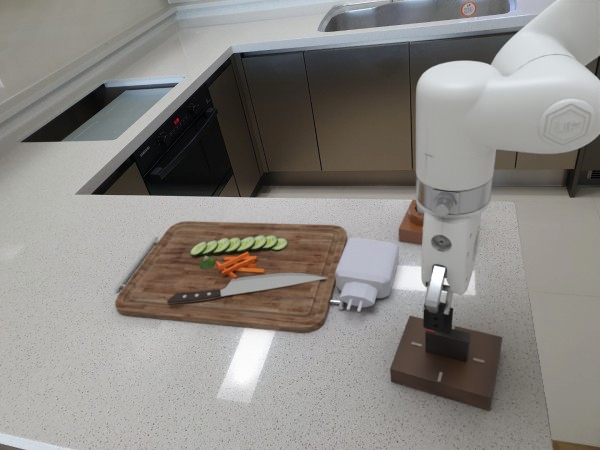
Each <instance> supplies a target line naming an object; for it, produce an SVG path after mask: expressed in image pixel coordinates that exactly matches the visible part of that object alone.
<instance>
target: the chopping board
mask: <svg viewBox="0 0 600 450" xmlns="http://www.w3.org/2000/svg"><path fill="white" fill-rule="evenodd" d="M158 239H159V238H158V237H157V236H154V237H153V239H152V240H151V241H150V242H149V244H148V245H146V248H145V249H144V250H143V252H142V253H141V254H140V256H139V257H138V258H137V259H136V260H135V262H134V263H133V265H132V266H131V267H130V268H129V269H128V271H127V272H126V273H125V274H124V276H123V278H122V279H121V280H120V281H119V283H118V284H117V285H116V287H115V288H114V291H115V292H119V291H120V289H121V288H122V290H121V291H120V292H119V294H118V295H117V297H116V299H115V302H114V303H115V304H114V306H115V308H116V310H117V311H118V312H119V314H120V315H123V316H128V317H135V318H136V317H137V318H145V319H158V320H168V321H178V322H186V323H187V322H188V323H189V322H190V323H198V324H209V325H217V326H230V327H237V328H239V327H240V328H250V329H260V330H268V331H269V330H270V331H281V332H291V333H301V334H302V333H304V334H305V333H312V332H315V331H317V330H319V329H320V328H321V327H322V326H323V325H325V322H326V321H327V318H328V314H329V310H330V307H331V304H338V309H339V310H344V307H345V304H346V303H345V302H344V301H342V300H341V299H340V300H339V299H333V295H334V293H335V288H336V278H335V271H336V269H337V266H338V264H339V261H340V259H341V256H342V254H343V251H344V249H345V246H346V244H347V241H348V234H347V230H345V227H342V226H340V225H337V224H336V225H335V224H312V223H311V224H310V223H308V224H306V223H273V222H272V223H271V222H269V223H268V222H232V221H231V222H229V221H197V220H196V221H195V220H194V221H193V220H191V221H190V220H186V221H179V222H177V223H175V224H172V225H171V226H170V227H169V228H168V229H167V230H166V231H165V233H164V234H163V235H162V236H161V238H160V239H159V240H158ZM155 244H156V245H155ZM153 246H154V247H153ZM151 249H152V250H151ZM150 250H151V251H150ZM149 251H150V252H149ZM147 254H148V255H147ZM146 255H147V256H146ZM144 258H145V259H144ZM143 259H144V260H143ZM142 261H143V262H142ZM141 262H142V263H141ZM138 266H139V267H138ZM137 267H138V268H137ZM136 269H137V270H136ZM135 270H136V271H135ZM134 271H135V272H134ZM133 272H134V274H133ZM132 274H133V275H132ZM131 275H132V276H131ZM130 276H131V278H130ZM129 278H130V279H129ZM128 279H129V281H128V282H127V280H128ZM126 282H127V283H126Z"/></svg>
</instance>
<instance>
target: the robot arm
mask: <svg viewBox="0 0 600 450" xmlns="http://www.w3.org/2000/svg"><path fill="white" fill-rule="evenodd" d="M599 57H600V0H554V2H552V3H551V4H549V6H547V7H546V8H545V9H543V11H541V12H540V13H539V14H538V15H536V16H535V17H534V18H533V19H531V20H530V21H529V22H528V23H527V24H526V25H524V26H523V27H522V28H521V29H520V30H518V31H517V32H516V33H515V34H514V35H513V36H512V37H511V38H510V39H509V40H508V41H507V42H506V43H505V44H504V45H503V46H502V47H501V48H500V49H499V51H498V52H497V54H495V56H494V58H493V60H492V61H491V63H490V64H489V63H486V62H482V61H478V60H477V61H475V60H454V61H447V62H443V63H439V64H437V65H434V66H431V67H430V68H428V69H427V70H425V71H424V72H423V73H422V74H421V76H420V77H419V79H418V81H417V84H416V89H415V200H416V202H417V204H418V206H419V207H420V208H421V209H422V210H423V211H424V223H423V238H422V245H421V261H420V273H421V275H420V277H421V283H422V285H423V286H424V288H426V290H425V297H424V302H423V327H424V328H426V329H429V330H433V331H436V332H441V333H445V334H450V333H451V330H452V325H453V320H454V319H453V318H454V308H453V307H451V306H452V302H453V296H454V295H455V294H456V295H459V296H462V295H464V294H465V293H467V292H468V289H469V286H470V283H471V280H472V275H473V272H474V269H475V265H476V261H477V257H478V252H479V248H480V240H481V239H480V238H481V221H482V213H483V212H485V210H487V209H488V207H489V206H490V204H491V200H492V199H491V198H492V189H493V182H494V181H493V179H494V172H495V165H496V164H495V163H496V154H497V150H498V151H507V152H518V153H527V154H536V155H537V154H539V155H554V154H555V155H556V154H564V153H570V152H573V151H577V150H578V149H581V148H583V147H585V146H586V145H588V144H590V143H591V142H593V141H594V140H596V138H597V137H599V135H600V79H599V78H598V77H597V76H596V75H595V74H594V73H593V72H592V71H591V70H589V68H587V67H586V66H587V65H588V64H590V63H591V62H593V61H594V60H596V59H597V58H599ZM445 280H446V283H447V284H444V283H445ZM442 292H446V295H445V302H442V301H441V297H442Z"/></svg>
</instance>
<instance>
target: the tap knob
mask: <svg viewBox="0 0 600 450" xmlns="http://www.w3.org/2000/svg"><path fill="white" fill-rule="evenodd" d="M470 334H471V333H468V332H464V331H460V330H455V329H452V330H451V333H450V334H445V333H441V332H436V331H433V330H429V329H426V331H425V351H426V352H429V353H433V354H437V355H441V356H444V357H448V358H452V359H456V360H460V361H464V362H467V359H468V354H469V345H470Z"/></svg>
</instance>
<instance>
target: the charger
mask: <svg viewBox="0 0 600 450" xmlns="http://www.w3.org/2000/svg"><path fill="white" fill-rule="evenodd" d="M399 255H400V246H399V245H398V244H397V243H394V242H391V241H385V240H377V239H371V238H362V237H350V238H347V243H346V246H345V249H344V251H343V254H342V256H341V259H340V261H339V264H338V266H337V269H336V271H335V278H336V285H335V287H337V289H338V290H339V291H340V294H339V299H340V300H342V301H344V302H345V303H344V304H347V306H346V310H347V311H350V310H351V306H354V307H357V309H356V311H357V313H361V310H362V308H367V307H368V308H369V307H372V306H373V305H375V302H376V299H383V298H386V297H389V296H390V295H391V291H392V287H393V282H394V280H395V279H394V278H395V275H396V271H397V267H398V263H399Z"/></svg>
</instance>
